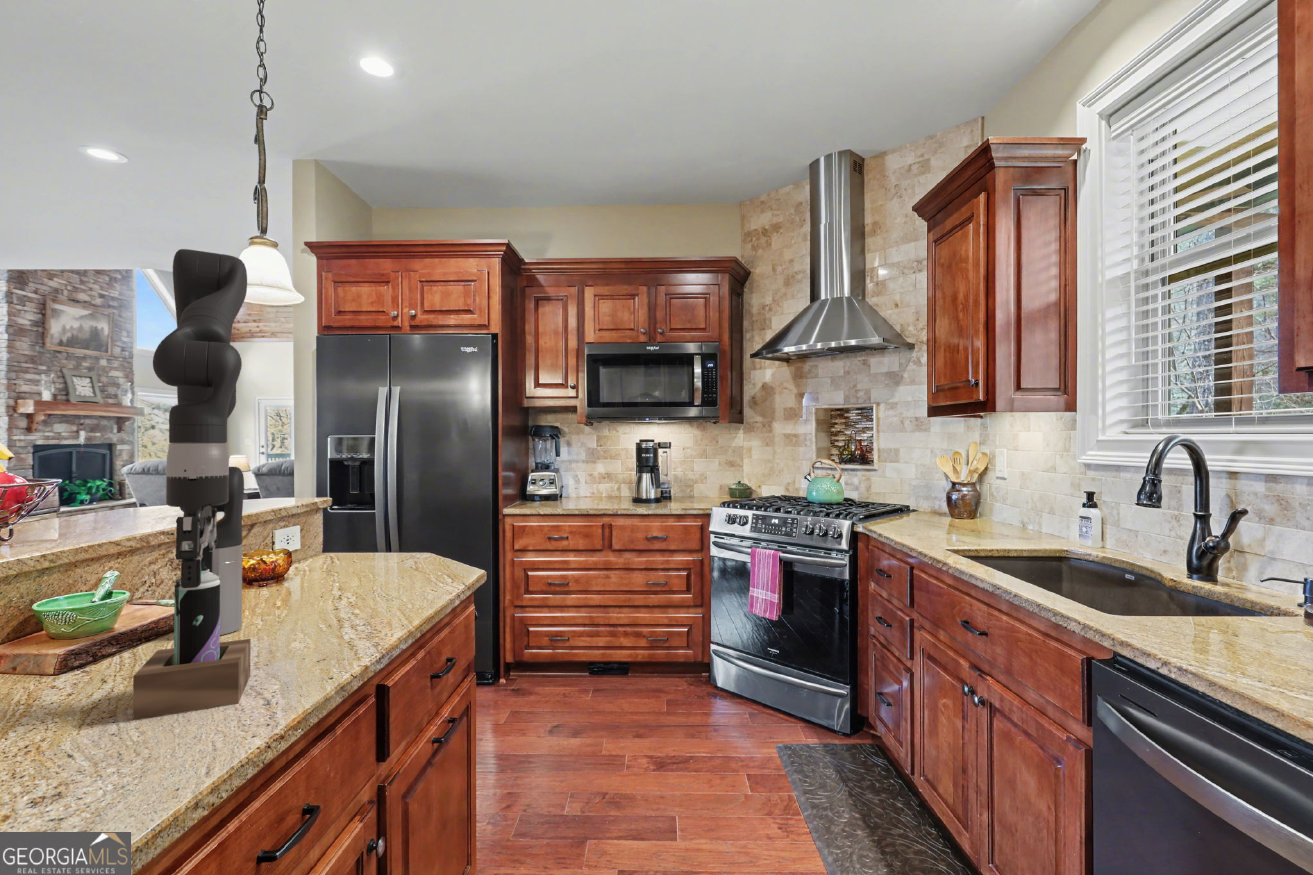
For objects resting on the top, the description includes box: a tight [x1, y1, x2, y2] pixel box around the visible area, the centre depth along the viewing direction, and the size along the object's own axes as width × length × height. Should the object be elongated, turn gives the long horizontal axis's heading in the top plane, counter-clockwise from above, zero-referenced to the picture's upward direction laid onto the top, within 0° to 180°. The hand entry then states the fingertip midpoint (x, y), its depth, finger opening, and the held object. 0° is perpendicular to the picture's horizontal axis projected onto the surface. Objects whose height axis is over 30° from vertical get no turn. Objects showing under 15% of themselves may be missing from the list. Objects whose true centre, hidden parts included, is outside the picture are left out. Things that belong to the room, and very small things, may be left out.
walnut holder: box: [132, 638, 251, 721], centre depth 92 cm, size 12×12×6 cm
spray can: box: [173, 562, 221, 665], centre depth 92 cm, size 6×6×20 cm
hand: (197, 581), depth 92 cm, fingers open, 8 cm apart
